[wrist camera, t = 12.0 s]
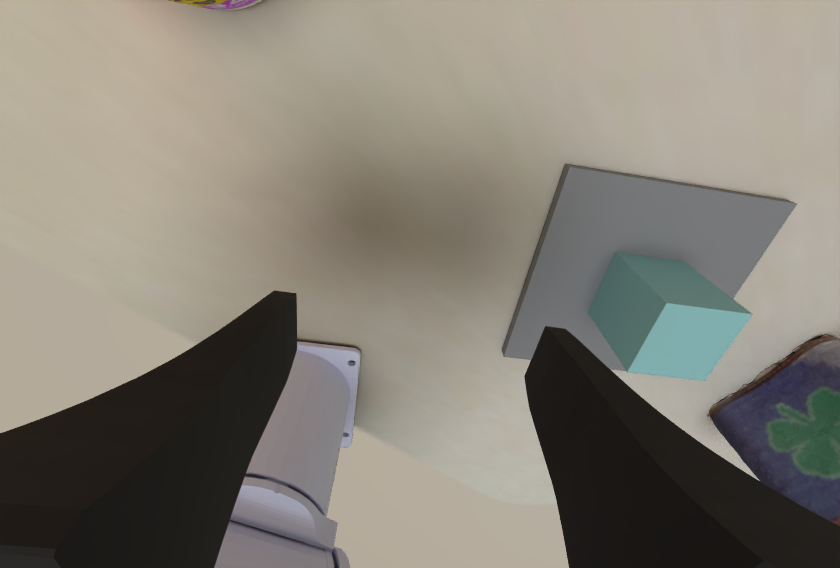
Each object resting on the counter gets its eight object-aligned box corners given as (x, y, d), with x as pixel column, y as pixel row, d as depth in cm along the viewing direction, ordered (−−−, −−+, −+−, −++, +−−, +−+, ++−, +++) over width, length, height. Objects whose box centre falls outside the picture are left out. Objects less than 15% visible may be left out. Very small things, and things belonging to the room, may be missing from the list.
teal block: (651, 320, 23) (704, 380, 19) (587, 312, 23) (627, 372, 18) (684, 261, 21) (752, 314, 17) (615, 251, 21) (666, 302, 16)
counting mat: (674, 370, 26) (679, 377, 26) (502, 350, 25) (503, 356, 25) (787, 199, 20) (797, 203, 19) (565, 164, 19) (569, 166, 18)
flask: (824, 327, 24) (1073, 494, 15) (848, 346, 25) (1098, 516, 16) (698, 412, 28) (835, 586, 19) (723, 426, 29) (865, 600, 20)
